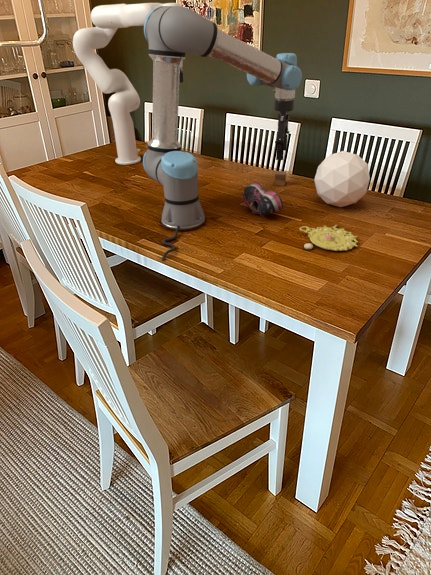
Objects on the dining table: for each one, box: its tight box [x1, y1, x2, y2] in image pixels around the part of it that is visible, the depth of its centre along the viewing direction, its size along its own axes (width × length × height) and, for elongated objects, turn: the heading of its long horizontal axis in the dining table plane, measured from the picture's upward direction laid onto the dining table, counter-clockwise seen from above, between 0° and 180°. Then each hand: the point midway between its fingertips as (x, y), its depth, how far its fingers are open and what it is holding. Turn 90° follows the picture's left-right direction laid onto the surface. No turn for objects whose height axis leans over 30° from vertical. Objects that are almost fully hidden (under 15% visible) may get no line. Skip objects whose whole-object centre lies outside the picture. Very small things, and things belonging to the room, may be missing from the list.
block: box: [274, 170, 287, 187], centre depth 185 cm, size 4×4×5 cm
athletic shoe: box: [238, 182, 284, 217], centre depth 160 cm, size 11×22×12 cm
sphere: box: [313, 150, 371, 208], centre depth 161 cm, size 19×20×20 cm
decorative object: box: [299, 224, 359, 252], centre depth 141 cm, size 21×2×20 cm
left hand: (176, 84), depth 190 cm, fingers open, 9 cm apart
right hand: (281, 155), depth 180 cm, fingers open, 13 cm apart
